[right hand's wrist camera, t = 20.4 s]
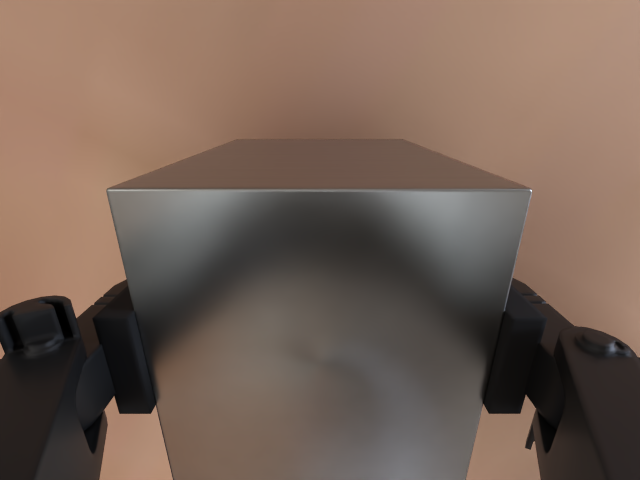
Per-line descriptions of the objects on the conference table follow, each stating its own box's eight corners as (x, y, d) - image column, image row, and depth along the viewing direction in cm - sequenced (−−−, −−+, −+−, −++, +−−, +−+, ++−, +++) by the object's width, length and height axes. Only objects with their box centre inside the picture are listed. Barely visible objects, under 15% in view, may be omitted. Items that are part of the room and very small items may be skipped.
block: (403, 139, 17) (534, 188, 6) (390, 289, 20) (465, 483, 9) (235, 139, 16) (103, 188, 6) (248, 289, 20) (172, 483, 9)
